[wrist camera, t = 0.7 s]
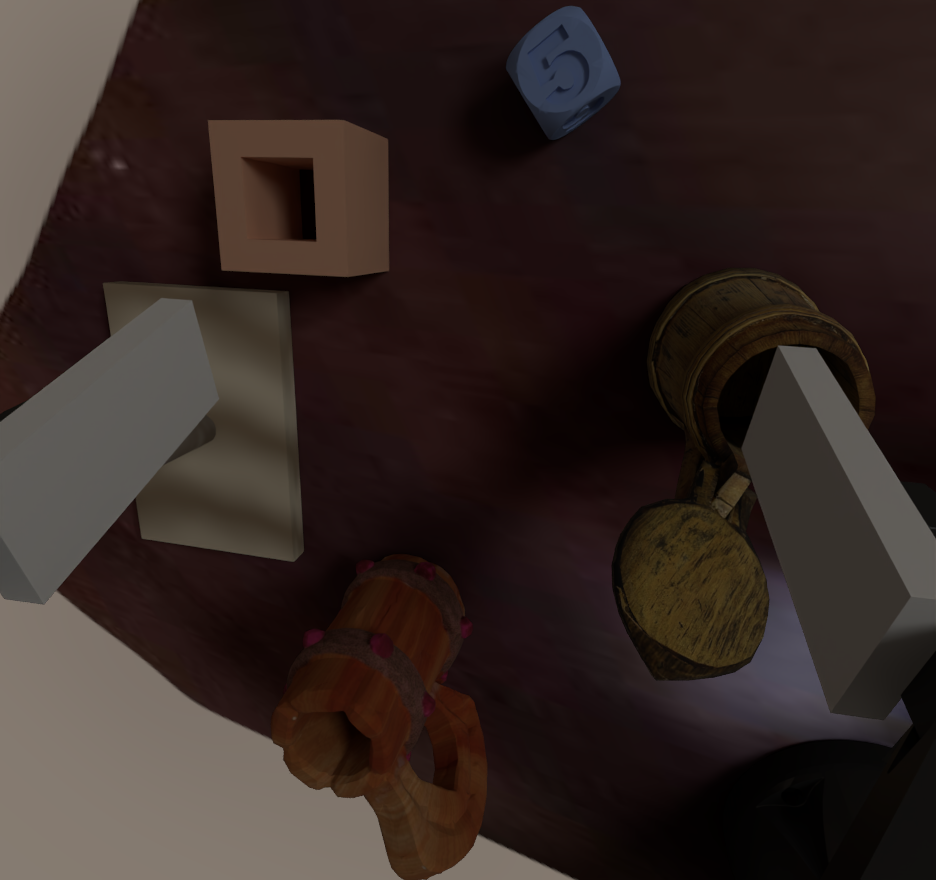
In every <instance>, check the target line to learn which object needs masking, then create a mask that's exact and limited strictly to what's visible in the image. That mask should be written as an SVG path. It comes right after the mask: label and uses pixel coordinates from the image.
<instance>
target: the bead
mask: <svg viewBox="0 0 936 880" xmlns="http://www.w3.org/2000/svg"><path fill="white" fill-rule="evenodd" d="M208 126H209V137H210V148H211V159H212V170H213V181H214V191H215V202H216V213H217V224H218V235H219V246H220V257H221V268H222V270H223V271H242V272H262V273H281V274H300V275H319V276H339V277H351V276H358V275H365V274H371V273H378V272H385V271H389V197H388V139H386V138H384V137H382V136H379V135H377V134H375V133H372V132H370V131H368V130H366V129H363V128H361V127H359V126H356V125H354V124H352V123H349V122H347V121H345V120H208ZM299 170H314V192H315V215H316V238H317V239H303V233H302V213H301V193H300V173H299Z"/></svg>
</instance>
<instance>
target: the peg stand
mask: <svg viewBox="0 0 936 880" xmlns="http://www.w3.org/2000/svg"><path fill="white" fill-rule="evenodd" d="M103 287H104V293H105V300H106V306H107V313H108V319H109V326H110V333H111V336H112V335H114V334H115V333H116V332H118V331H119V330H120V329H122V328H123V327H124V326H125V325H127V324H128V323H129V322H131V321H132V320H133V319H135V318H136V317H137V316H138V315H140V314H141V313H142V312H144V311H145V310H146V309H148V308H149V307H150V306H151V305H153V304H154V303H155V302H157V301H158V300H159V299H161V298H168V299H181V300H192V303H193V306H194V310H195V314H196V317H197V321H198V324H199V328H200V332H201V335H202V339H203V342H204V346H205V350H206V353H207V357H208V360H209V364H210V368H211V371H212V375H213V379H214V382H215V386H216V389H217V393H218V397H219V400H218V401H217V402H216V403H215V405H214V406H213V407H212V408H211V409H210V410H209V412H208V413H207V414H206V415H205V416H204V417H203V419H202V420H201V421H200V422H199V423H198V425H197V426H196V427H195V428H194V429H193V430H192V432H191V433H190V434H189V435H188V436H187V437H186V439H185V440H184V441H183V442H182V443H181V444H180V446H179V447H178V448H177V449H176V450H175V451H174V453H173V454H172V455H171V456H170V457H169V459H168V460H167V461H166V462H165V463H164V464H163V466H162V467H161V468H160V469H159V470H158V471H157V473H156V474H155V475H154V476H153V477H152V478H151V480H150V481H149V482H148V483H147V484H146V485H145V487H144V488H143V489H142V490H141V491H140V493H139V494H138V495H137V496H136V504H137V511H138V517H139V524H140V530H141V537H142V539H148V540H155V541H161V542H168V543H174V544H181V545H187V546H194V547H200V548H207V549H214V550H220V551H227V552H233V553H240V554H246V555H253V556H259V557H266V558H272V559H279V560H285V561H292V562H294V561H295V560H296V559H297V558H298V557H299V556H300V555H301V554H302V553H303V552H304V542H303V525H302V507H301V490H300V473H299V456H298V439H297V422H296V404H295V387H294V370H293V353H292V336H291V319H290V301H289V291H277V290H259V289H242V288H225V287H208V286H190V285H173V284H156V283H139V282H121V281H120V282H109V283H103Z"/></svg>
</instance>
